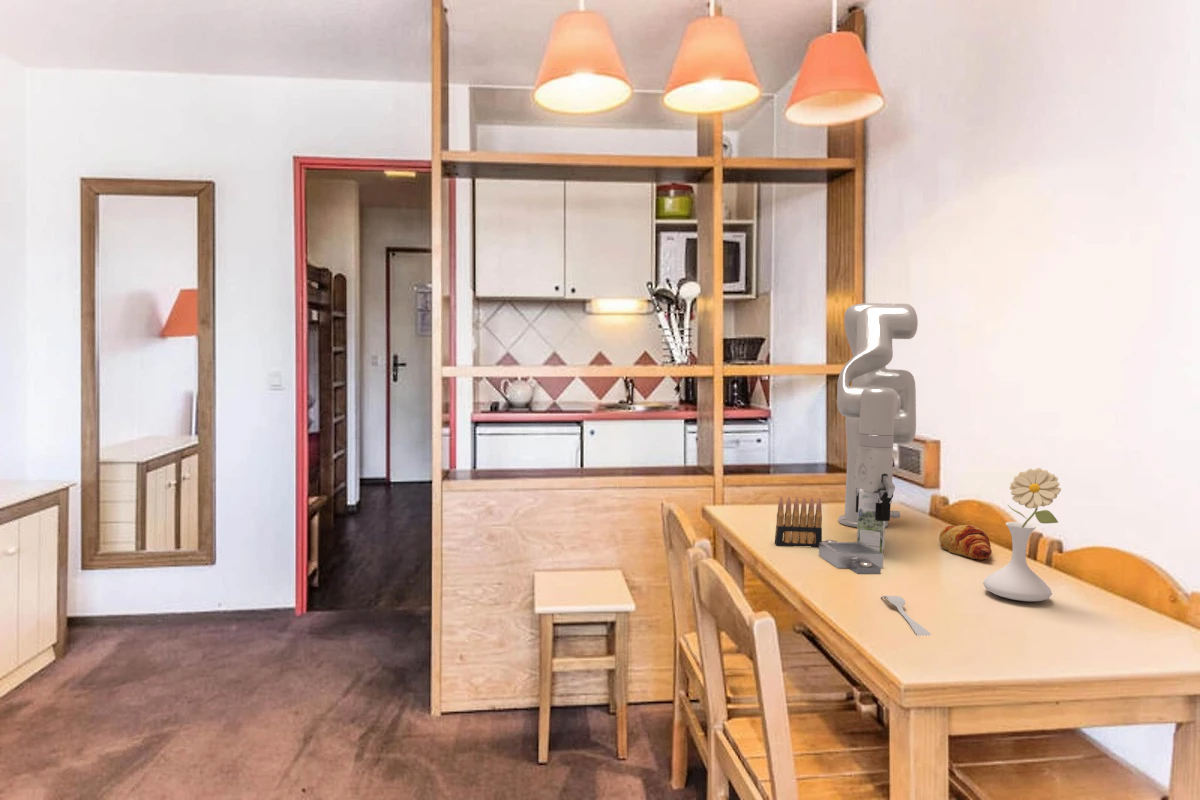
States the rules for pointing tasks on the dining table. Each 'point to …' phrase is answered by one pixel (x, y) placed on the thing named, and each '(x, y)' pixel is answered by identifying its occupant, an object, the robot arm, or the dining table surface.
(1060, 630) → the dining table surface
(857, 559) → the bolted metal bracket
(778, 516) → the ammunition clip
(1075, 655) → the dining table surface
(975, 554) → the croissant
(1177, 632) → the dining table surface
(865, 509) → the syrup box
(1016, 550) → the flower in vase
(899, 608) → the fork
